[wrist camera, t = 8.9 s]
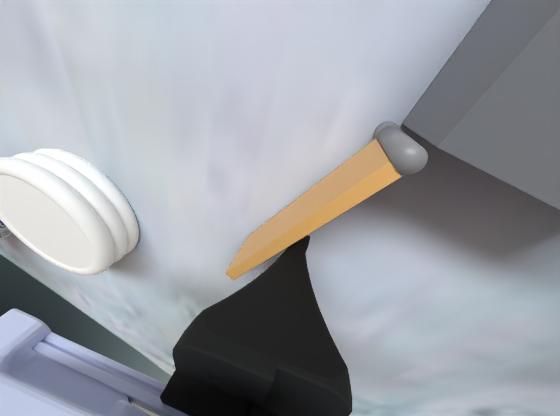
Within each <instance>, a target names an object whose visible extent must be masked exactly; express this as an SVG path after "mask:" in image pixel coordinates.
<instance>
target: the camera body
mask: <svg viewBox="0 0 560 416" xmlns="http://www.w3.org/2000/svg"><path fill="white" fill-rule="evenodd" d="M402 124H403V125H404V126H406V127H407V128H409V129H410V130H412V131H413V132H415V133H416V134H418V135H419V136H421V137H422V138H424V139H425V140H427V141H428V142H430V143H431V144H433V145H434V146H436V147H437V148H439V149H441V150H443V151H445V152H447V153H449V154H451V155H453V156H455V157H457V158H459V159H461V160H463V161H465V162H467V163H469V164H470V165H472V166H474V167H476V168H478V169H480V170H482V171H484V172H486V173H488V174H490V175H492V176H494V177H496V178H498V179H500V180H502V181H504V182H506V183H508V184H510V185H512V186H514V187H516V188H518V189H519V190H521V191H523V192H525V193H527V194H529V195H531V196H533V197H535V198H537V199H539V200H541V201H543V202H545V203H547V204H549V205H551V206H553V207H555V208H557V209H559V210H560V0H492V1H491V2H490V4H489V5H488V6H487V8H486V9H485V11H484V12H483V13H482V15H481V16H480V17H479V19H478V20H477V22H476V23H475V24H474V26H473V27H472V28H471V30H470V31H469V32H468V34H467V35H466V37H465V38H464V39H463V41H462V42H461V43H460V45H459V46H458V48H457V49H456V50H455V52H454V53H453V54H452V56H451V57H450V58H449V60H448V61H447V63H446V64H445V65H444V67H443V68H442V69H441V71H440V72H439V74H438V75H437V76H436V78H435V79H434V80H433V82H432V83H431V85H430V86H429V87H428V89H427V90H426V91H425V93H424V94H423V95H422V97H421V98H420V100H419V101H418V102H417V104H416V105H415V106H414V108H413V109H412V111H411V112H410V113H409V115H408V116H407V117H406V119H405V120H404V122H403V123H402ZM387 126H396V127H398V128H399V129H400V130H401V128H400V127H399V126H398V125H396V124H395V123H393V122H384V123H382V124H380V125H379V126H378V127H377V128H376V130H375V132H374V139H377V136H378V134H379V132H380V131H381V130H382V129H383V128H384V127H387Z"/></svg>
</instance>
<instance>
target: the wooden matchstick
mask: <svg viewBox="0 0 560 416" xmlns="http://www.w3.org/2000/svg"><path fill="white" fill-rule="evenodd" d="M427 160H428V154H427V151H426V150H425V149H424V148H423V147H422V146H421V145H419V144H418V143H417V142H415V141H414V140H413V139H412V138H410V137H409V136H408V135H407V134H405V133H404V132H403V131H402V130H400V129H399V128H398V127H396V126H387V127H384V128H383V129H382V130H381V131H380V132H379V134H378V136H377V139H374V140H373V141H372V142H370V143H369V144H368V145H367V146H365V147H364V148H363V149H361V150H360V151H359V152H357V153H356V154H355V155H353V156H352V157H351V158H350V159H348V160H347V161H346V162H344V163H343V164H342V165H340V166H339V167H338V168H337V169H335V170H334V171H333V172H331V173H330V174H329V175H327V176H326V177H325V178H323V179H322V180H321V181H320V182H318V183H317V184H316V185H314V186H313V187H312V188H310V189H309V190H308V191H306V192H305V193H304V194H303V195H301V196H300V197H299V198H297V199H296V200H295V201H293V202H292V203H291V204H290V205H288V206H287V207H286V208H284V209H283V210H282V211H280V212H279V213H278V214H276V215H275V216H274V217H273V218H271V219H270V220H269V221H267V222H266V223H265V224H263V225H262V226H261V227H259V228H258V229H257V230H256V231H254V232H253V233H252V234H250V235H249V236H248V238H247V239H246V241H245V242H244V244H243V246H242V247H241V249H240V250H239V252H238V253H237V255H236V257H235V258H234V260H233V261H232V263H231V264H230V266H229V268H228V269H227V271H226V272H225V274H227V275H228V276H229V277H230V278H231V279H232V280H235V279H237V278H238V277H240V276H241V275H243V274H245V273H246V272H248V271H250V270H251V269H253V268H254V267H256V266H258V265H259V264H261V263H263V262H264V261H266V260H267V259H269V258H271V257H272V256H274V255H275V254H277V253H279V252H280V251H282V250H284V249H285V248H287V247H288V246H290V245H292V244H293V243H295V242H297V241H298V240H300V239H301V238H303V237H305V236H306V235H308V234H310V233H311V232H313V231H314V230H316V229H318V228H319V227H321V226H323V225H324V224H326V223H327V222H329V221H331V220H332V219H334V218H336V217H337V216H339V215H340V214H342V213H344V212H345V211H347V210H349V209H350V208H352V207H353V206H355V205H357V204H358V203H360V202H361V201H363V200H365V199H366V198H368V197H370V196H371V195H373V194H374V193H376V192H378V191H379V190H381V189H383V188H384V187H386V186H387V185H389V184H391V183H392V182H394V181H396V180H397V179H399V178H400V177H401V175H404V176H408V175H413V174H416V173H418V172H419V171H421V170H422V169H423V168H424V166H425V165H426V163H427Z"/></svg>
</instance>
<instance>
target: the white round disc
mask: <svg viewBox="0 0 560 416" xmlns="http://www.w3.org/2000/svg"><path fill="white" fill-rule="evenodd" d="M0 220H1V221H2V222H3V223H4V224H5V225H6V226H7V227H8V229H9V230H10V231H11V232H12V233H13V234H14V235H15V236H17V237H18V238H19V239H20V240H21V241H22V242H23V243H24V244H26V245H27V246H28V247H29V248H31V249H32V250H33V251H35V252H36V253H37V254H39V255H40V256H42V257H43V258H45V259H46V260H48V261H49V262H51V263H53V264H55V265H57V266H59V267H60V268H63V269H65V270H67V271H70V272H73V273H77V274H81V275H96V274H100V273H102V272H104V271H106V270H107V269H108V268H109V267H110V266H111V265H112V264H113V263H115V262H117V261H119V260H120V259H121V258H122V257H123V256H124V255H125V254H127V253H129V252H131V251H132V250H133V249H134V247H135V246H136V244H137V242H138V239H139V227H138V223H137V220H136V217H135V214H134V212H133V210H132V208H131V206H130V204H129V203H128V201H127V199H126V198H125V196H124V195H123V194H122V192H121V191H120V190H119V189H118V188H117V186H116V185H115V184H114V183H113V182H112V181H111V180H110V179H109V178H108V177H107V176H106V175H105V174H104V173H102V172H101V171H100V170H99V169H98V168H96V167H95V166H94V165H92V164H91V163H89V162H88V161H86V160H84V159H83V158H81V157H79V156H77V155H75V154H73V153H70V152H67V151H65V150H60V149H51V148H43V149H38V150H36V151H34V152H32V153H19V154H17V155H15V156H13V157H1V158H0Z"/></svg>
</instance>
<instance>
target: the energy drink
mask: <svg viewBox="0 0 560 416" xmlns="http://www.w3.org/2000/svg"><path fill="white" fill-rule="evenodd" d="M12 234H13V233H12V232H11V231H10V230H9V229H8V227H7V226H6V225H5V224H4V223H3V222H2V221H1V220H0V240H1V239H3V238H6V237H8V236H10V235H12Z"/></svg>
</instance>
